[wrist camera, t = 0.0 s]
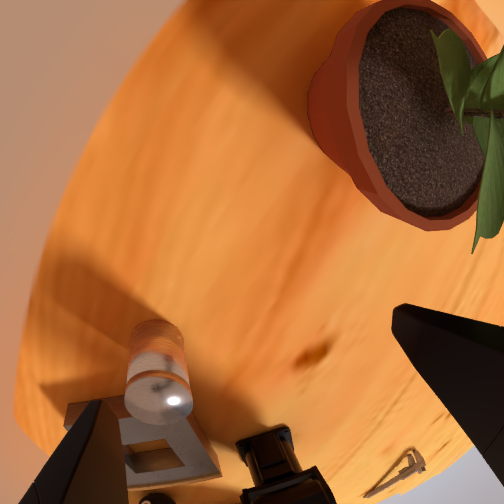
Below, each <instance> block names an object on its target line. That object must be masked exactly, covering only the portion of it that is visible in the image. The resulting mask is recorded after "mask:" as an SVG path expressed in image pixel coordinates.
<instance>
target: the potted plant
mask: <svg viewBox="0 0 504 504" xmlns="http://www.w3.org/2000/svg"><path fill="white" fill-rule="evenodd" d="M308 118H309V122H310V125H311V129H312V132H313V136H314V137H315V139H316V140H317V142H318V144H319V145H320V147H321V149H322V150H323V152H324V153H325V154H326V155H327V156H328V157H329V158H330V159H331V160H332V161H334V162H335V163H336V164H337V165H338V166H339V167H340V168H342V169H343V170H344V171H345V172H347V173H348V174H349V175H350V176H351V178H352V180H353V182H354V184H355V185H356V187H357V189H358V190H359V191H360V192H361V193H363V194H364V195H365V196H366V197H367V198H368V199H369V200H370V201H371V202H372V203H373V204H374V205H375V206H376V207H377V208H378V209H379V210H380V211H381V212H383V213H385V214H388V215H390V216H392V217H395V218H397V219H399V220H402V221H404V222H406V223H409V224H411V225H413V226H415V227H418V228H420V229H422V230H424V231H439V230H450V229H452V228H453V227H455V226H457V225H459V224H460V223H462V222H464V221H466V220H467V219H469V218H470V217H471V216H472V215H473V213H474V212H475V211H476V210H477V217H476V231H475V237H474V243H473V248H472V253H471V254H473V252H474V250H475V247H476V245H477V243H478V240H479V238H480V236H481V237H483V238H485V239H487V238H493V237H495V236H496V235H497V234H498V233H499V231H500V229H501V226H502V224H503V221H504V45H503V48H502V50H501V52H500V53H499V54H497V55H495V56H493V57H491V58H489V59H487V57H486V56H485V54H484V52H483V51H482V49H481V47H480V46H479V44H478V42H477V41H476V39H475V38H474V36H473V35H472V33H471V32H470V31H469V30H468V29H467V28H466V27H465V26H464V25H463V24H462V23H461V22H460V21H459V20H458V19H457V18H456V17H455V16H454V15H453V14H452V13H451V12H450V11H448V10H446V9H445V8H443V7H441V6H440V5H438V4H436V3H434V2H433V1H431V0H381V1H378V2H376V3H374V4H372V5H370V6H368V7H366V8H364V9H362V10H360V11H358V12H356V13H355V15H354V16H353V17H352V18H351V19H350V20H349V21H348V22H347V23H346V25H345V26H344V27H343V28H342V29H341V30H340V31H339V33H338V34H337V36H336V40H335V43H334V46H333V49H332V52H331V55H330V56H329V58H328V59H327V60H326V61H325V62H324V64H323V65H322V66H321V67H320V69H319V70H318V71H317V72H316V74H315V75H314V77H313V80H312V83H311V86H310V89H309V92H308Z"/></svg>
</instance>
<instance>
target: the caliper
mask: <svg viewBox="0 0 504 504" xmlns="http://www.w3.org/2000/svg"><path fill="white" fill-rule="evenodd" d="M413 453H414V456H415V458H416V461H417V463H415V460H414V458H413V456H412V454H409V455H408V463H409V467H405V468H403V469H402V470H400V471H399V475H397V476H396V477H394V478H392V479H391V480H389V481H388V482H386V483H384V484H383V485H381V486H379V487H377V488H376V489H374V490H372V491H370V492H369V493H368V494H367V495H366V496H365V497H363V498H366V497H367V498H370V497H372V496H374V495H376V494H378V493H379V492H381V491H383V490H385V489H386V488H388V487H390V486H392V485H393V484H395V483H396V482H398V481H400V480H401V479H402V480H404V479H406V478H407V477H409V476H411V475H412V474H414V473H415V472H417V471H418V473H419V474H421V473H422V471H425V470H426V469H425V467H424V466H425V465H426V464H425V461H424V459H423V457H422V456H421V454H420V453H419V452H418V451H417V450H414V451H413Z"/></svg>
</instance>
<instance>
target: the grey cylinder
mask: <svg viewBox="0 0 504 504" xmlns="http://www.w3.org/2000/svg"><path fill="white" fill-rule="evenodd" d="M124 403H125V407H126V409H127V410H128V412H129V413H130V414H131V415H132V416H133V417H135V418H136V419H138V420H140V421H142V422H145V423H148V424H153V425H170V424H174V423H177V422H180V421H182V420H183V419H185V418H186V417H187V416H188V415H189V414H190V413H191V411H192V409H193V398H192V392H191V388H190V384H189V377H188V370H187V363H186V355H185V347H184V340H183V336H182V334H181V332H180V330H179V329H178V328H177V327H175V326H174V325H173V324H171V323H169V322H166V321H163V320H149V321H146V322H143V323H141V324H140V325H138V326H137V327H136V328H135V329H134V331H133V333H132V336H131V343H130V351H129V360H128V371H127V382H126V387H125V398H124Z"/></svg>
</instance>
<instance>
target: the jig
mask: <svg viewBox="0 0 504 504" xmlns="http://www.w3.org/2000/svg"><path fill="white" fill-rule="evenodd" d="M124 398H125V395H122V396H116V397H111V398H105V399H104V400H105V401H106V402H107V403H108V405H109V406H110V407H111V409H112V410H113V411H114V413H115V414H116V416H117V418H118V420H119V426H120V433H121V440H122V447H123V453H124V459H125V465H126V478H127V490H128V491H141V490H150V489H158V488H166V487H172V486H179V485H185V484H190V483H196V482H201V481H206V480H210V479H215V478H219V477H223V476H222V473H221V469H220V465H219V461H218V457H217V454H216V453H215V451H214V449H213V448H212V446H211V444H210V443H209V441H208V439H207V438H206V436H205V434H204V433H203V431H202V429H201V427H200V426H199V424H198V422H197V420H196V418H195V417H194V415H193V413H192V411H191V413H190V414H189V415H188V416H187V417H186V418H185V419H183V420H182V421H180V422H177V423H174V424H170V425H153V424H148V423H145V422H142V421H140V420H138V419H136V418H135V417H133V416H132V415H131V414H130V413H129V412H128V410H127V409H126V407H125V403H124ZM89 402H90V401H87V402H81V403H74V404H68V407H67V412H66V416H65V421H64V425H63V426H64V427H65V429H66V430H67V431H69V430H70V428H71V427H72V425H73V424H74V423H75V421H76V420H77V418H78V417H79V416H80V414H81V413H82V411H83V410H84V409H85V407H86V406H87V405H88V403H89ZM159 439H165V440H166V441H167V443H168V444H169V445H170V447H171V448H166V449H161V450H155V451H149V452H142V453H134V451H133V450H132V449H131V448H130V447H129V446H128V444H135V443H142V442H148V441H154V440H159Z"/></svg>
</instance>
